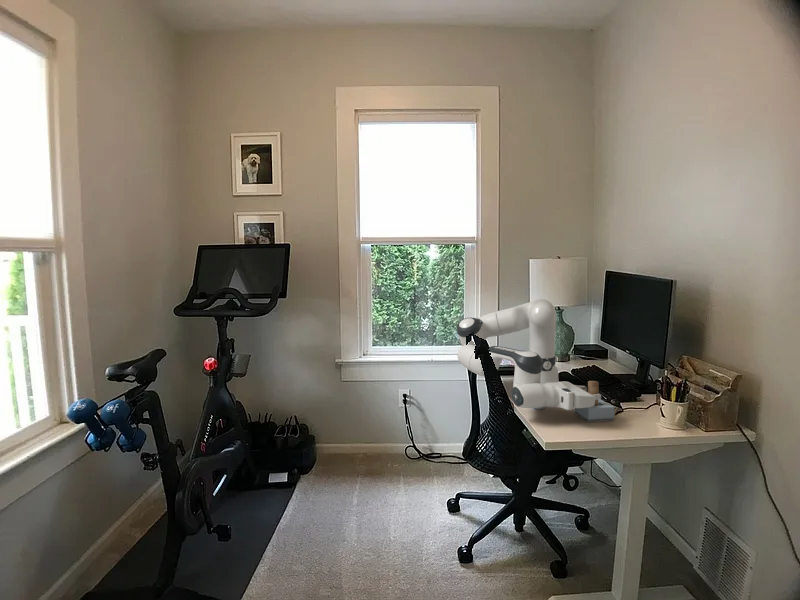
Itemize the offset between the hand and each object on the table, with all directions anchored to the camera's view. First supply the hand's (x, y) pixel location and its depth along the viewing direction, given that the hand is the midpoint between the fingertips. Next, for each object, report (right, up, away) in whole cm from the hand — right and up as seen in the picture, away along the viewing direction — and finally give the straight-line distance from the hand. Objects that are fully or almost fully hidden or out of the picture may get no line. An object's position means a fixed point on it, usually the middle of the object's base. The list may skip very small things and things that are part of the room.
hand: (592, 392), depth 176 cm
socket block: (+1, -9, +1) cm, 9 cm away
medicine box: (-17, -8, +14) cm, 24 cm away
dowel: (0, -8, +1) cm, 8 cm away
